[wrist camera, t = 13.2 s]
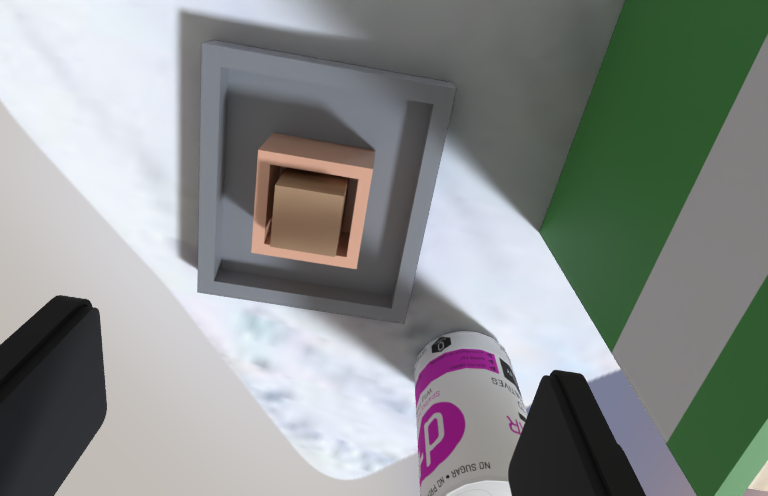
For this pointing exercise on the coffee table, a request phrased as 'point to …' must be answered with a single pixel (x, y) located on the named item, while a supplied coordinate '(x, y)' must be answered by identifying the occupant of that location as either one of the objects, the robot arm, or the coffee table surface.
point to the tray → (325, 123)
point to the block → (308, 211)
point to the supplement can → (466, 416)
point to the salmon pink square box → (314, 158)
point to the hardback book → (679, 227)
